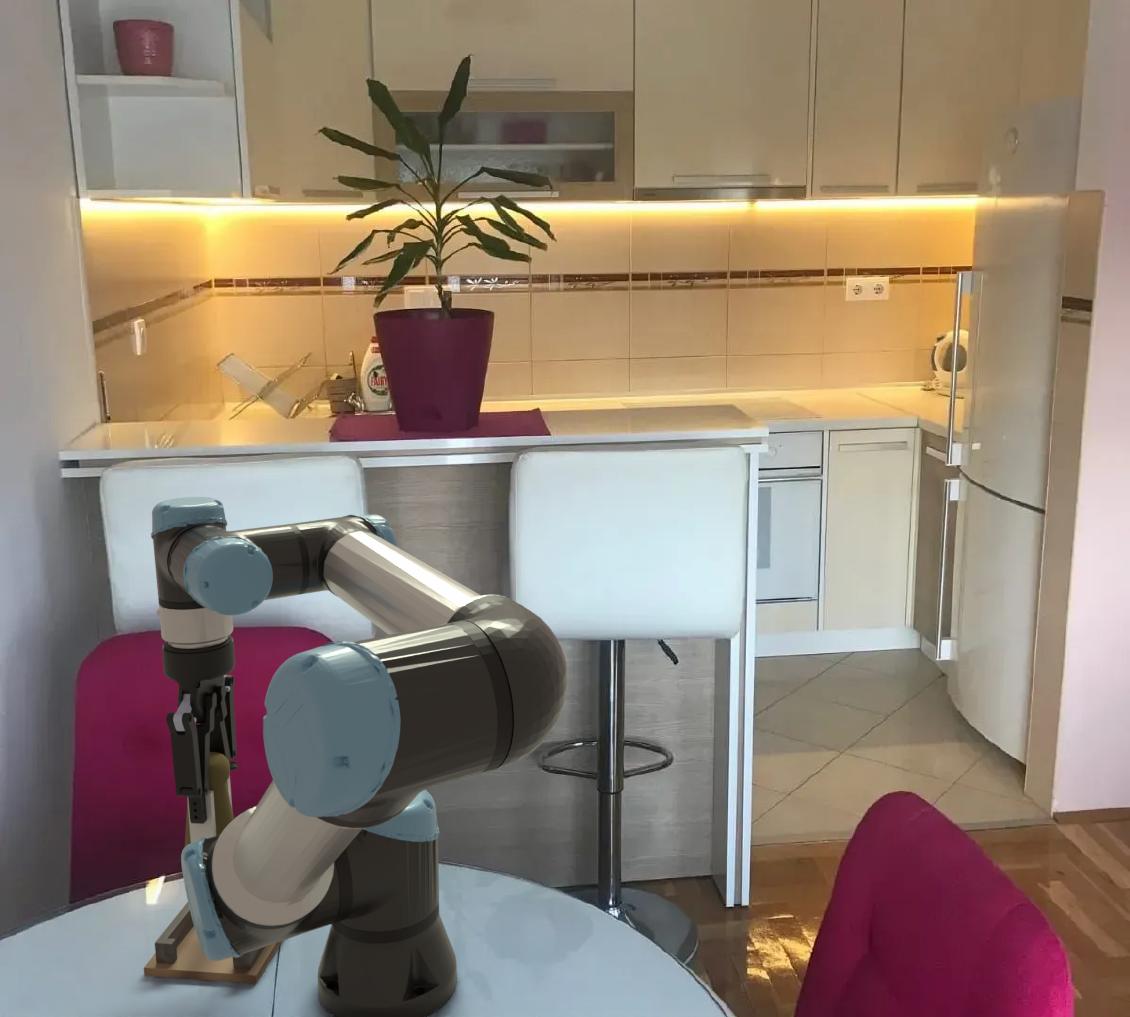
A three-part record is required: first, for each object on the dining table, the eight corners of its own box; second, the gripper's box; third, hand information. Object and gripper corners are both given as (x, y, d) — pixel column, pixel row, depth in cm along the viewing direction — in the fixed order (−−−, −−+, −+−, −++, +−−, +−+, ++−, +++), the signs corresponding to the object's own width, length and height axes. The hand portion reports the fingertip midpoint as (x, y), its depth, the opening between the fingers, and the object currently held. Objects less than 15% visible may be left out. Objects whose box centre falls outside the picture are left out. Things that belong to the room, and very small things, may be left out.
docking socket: (296, 918, 137) (295, 892, 136) (256, 983, 124) (254, 955, 123) (194, 911, 138) (192, 885, 137) (144, 975, 125) (141, 947, 125)
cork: (223, 862, 124) (217, 768, 122) (173, 858, 125) (166, 765, 123) (248, 836, 130) (242, 747, 128) (200, 833, 131) (193, 744, 129)
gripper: (196, 616, 132) (210, 801, 136) (128, 662, 115) (147, 873, 119) (258, 616, 131) (270, 803, 136) (199, 663, 114) (215, 875, 119)
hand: (212, 835), depth 128 cm, fingers closed on cork, 4 cm apart
